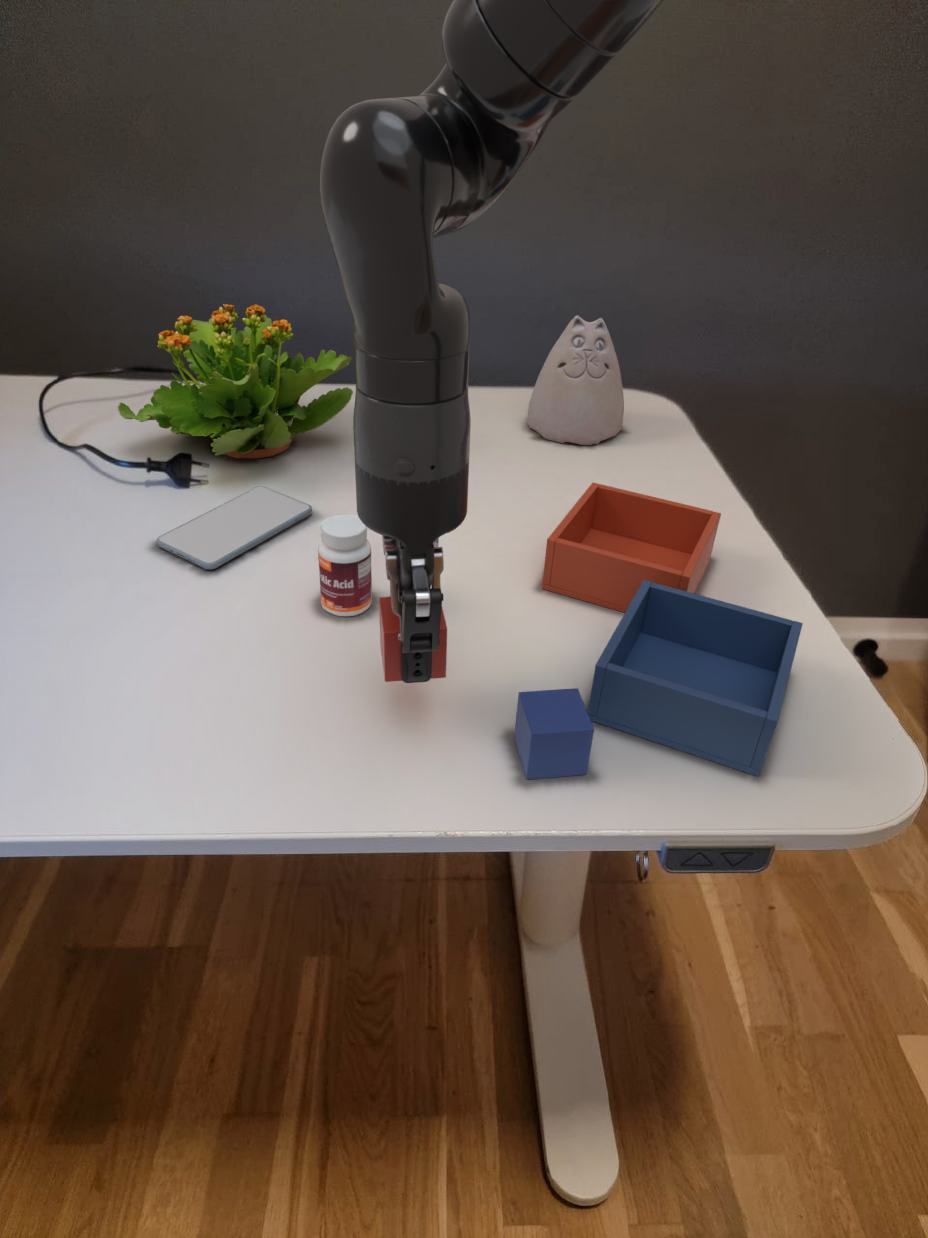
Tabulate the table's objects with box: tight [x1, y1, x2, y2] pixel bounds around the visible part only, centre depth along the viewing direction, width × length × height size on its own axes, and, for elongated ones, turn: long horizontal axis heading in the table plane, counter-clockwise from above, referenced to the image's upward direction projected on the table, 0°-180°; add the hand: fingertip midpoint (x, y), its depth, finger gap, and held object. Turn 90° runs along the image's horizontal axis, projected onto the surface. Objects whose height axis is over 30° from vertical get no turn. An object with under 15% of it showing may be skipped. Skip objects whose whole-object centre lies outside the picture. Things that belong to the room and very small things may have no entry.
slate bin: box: [587, 580, 803, 777], centre depth 70 cm, size 14×14×6 cm
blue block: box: [513, 687, 595, 780], centre depth 64 cm, size 5×5×5 cm
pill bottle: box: [317, 513, 373, 617], centre depth 78 cm, size 5×5×8 cm
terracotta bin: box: [541, 482, 722, 613], centre depth 85 cm, size 14×14×6 cm
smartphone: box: [156, 485, 313, 570], centre depth 90 cm, size 8×1×15 cm
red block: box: [378, 596, 448, 683], centre depth 65 cm, size 5×5×5 cm
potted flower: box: [117, 303, 354, 460], centre depth 103 cm, size 25×24×18 cm
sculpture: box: [527, 315, 625, 446], centre depth 112 cm, size 13×12×15 cm
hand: (412, 657), depth 66 cm, fingers closed on red block, 4 cm apart
